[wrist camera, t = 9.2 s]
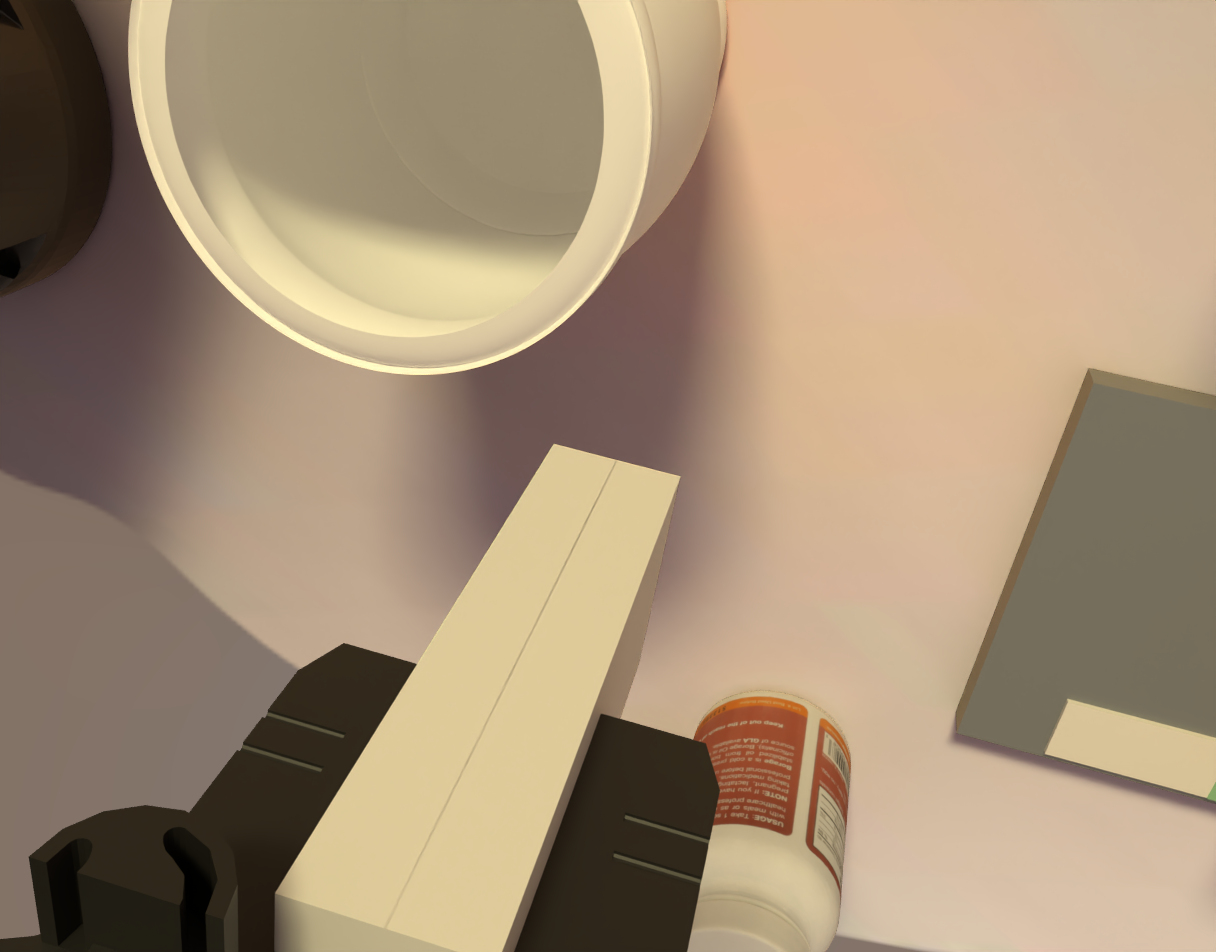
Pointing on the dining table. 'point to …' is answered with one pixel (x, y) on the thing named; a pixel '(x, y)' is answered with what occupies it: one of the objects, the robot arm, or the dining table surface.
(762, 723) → the pill bottle
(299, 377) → the dining table surface
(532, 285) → the jar
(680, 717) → the dining table surface
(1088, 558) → the board
